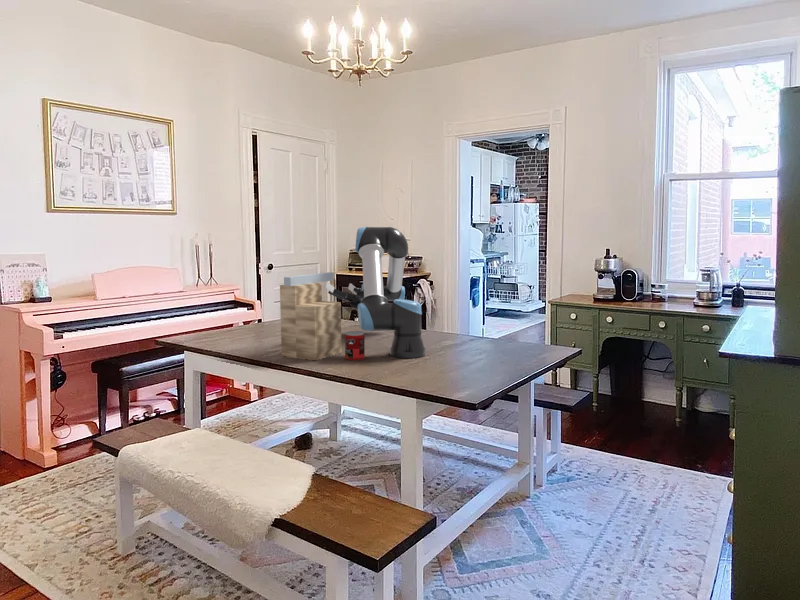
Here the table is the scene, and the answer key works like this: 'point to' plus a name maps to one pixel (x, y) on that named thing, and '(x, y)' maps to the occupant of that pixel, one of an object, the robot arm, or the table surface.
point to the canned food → (354, 345)
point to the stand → (309, 323)
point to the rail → (308, 279)
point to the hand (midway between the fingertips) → (337, 285)
